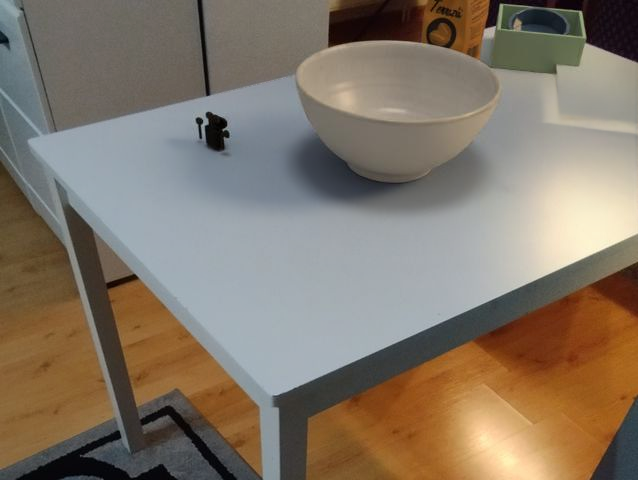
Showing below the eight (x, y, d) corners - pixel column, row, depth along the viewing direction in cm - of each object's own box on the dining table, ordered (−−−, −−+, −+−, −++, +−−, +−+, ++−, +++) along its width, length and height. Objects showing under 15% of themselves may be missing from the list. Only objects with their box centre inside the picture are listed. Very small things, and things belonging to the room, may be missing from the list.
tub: (572, 46, 133) (581, 11, 128) (576, 76, 122) (586, 38, 117) (493, 38, 135) (500, 3, 130) (490, 67, 124) (497, 29, 120)
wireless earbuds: (195, 141, 100) (191, 107, 97) (208, 135, 102) (205, 102, 98) (227, 157, 97) (224, 123, 93) (240, 151, 98) (238, 117, 95)
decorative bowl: (277, 128, 104) (276, 46, 95) (441, 113, 109) (453, 34, 101) (322, 223, 85) (324, 131, 77) (517, 199, 90) (540, 110, 82)
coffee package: (406, 76, 120) (422, -67, 105) (436, 55, 128) (455, -82, 113) (458, 89, 116) (483, -58, 101) (486, 66, 124) (512, -73, 109)
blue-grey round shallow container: (565, 27, 130) (570, 10, 127) (563, 63, 125) (568, 46, 122) (507, 22, 132) (510, 4, 129) (502, 57, 126) (506, 40, 123)
